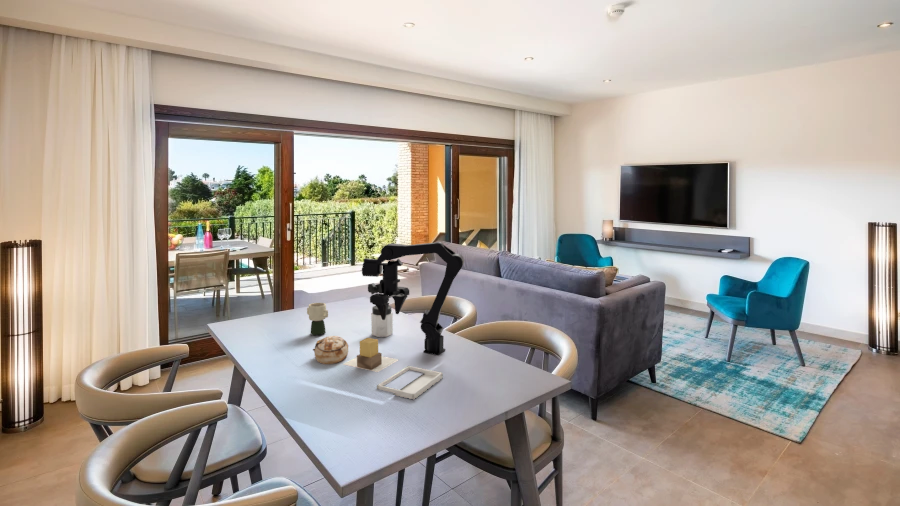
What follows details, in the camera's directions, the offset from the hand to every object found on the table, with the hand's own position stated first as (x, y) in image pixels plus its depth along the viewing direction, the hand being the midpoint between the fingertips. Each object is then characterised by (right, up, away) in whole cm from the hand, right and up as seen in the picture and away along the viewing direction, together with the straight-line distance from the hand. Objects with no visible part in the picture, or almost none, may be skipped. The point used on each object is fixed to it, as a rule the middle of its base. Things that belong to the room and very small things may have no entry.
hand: (390, 316), depth 176 cm
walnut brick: (-5, -15, -17) cm, 23 cm away
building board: (-5, -15, -13) cm, 21 cm away
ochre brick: (-5, -11, -17) cm, 21 cm away
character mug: (-33, -10, +20) cm, 40 cm away
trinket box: (-20, -15, -8) cm, 26 cm away
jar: (-6, -11, +21) cm, 24 cm away
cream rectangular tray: (+10, -17, -30) cm, 36 cm away
